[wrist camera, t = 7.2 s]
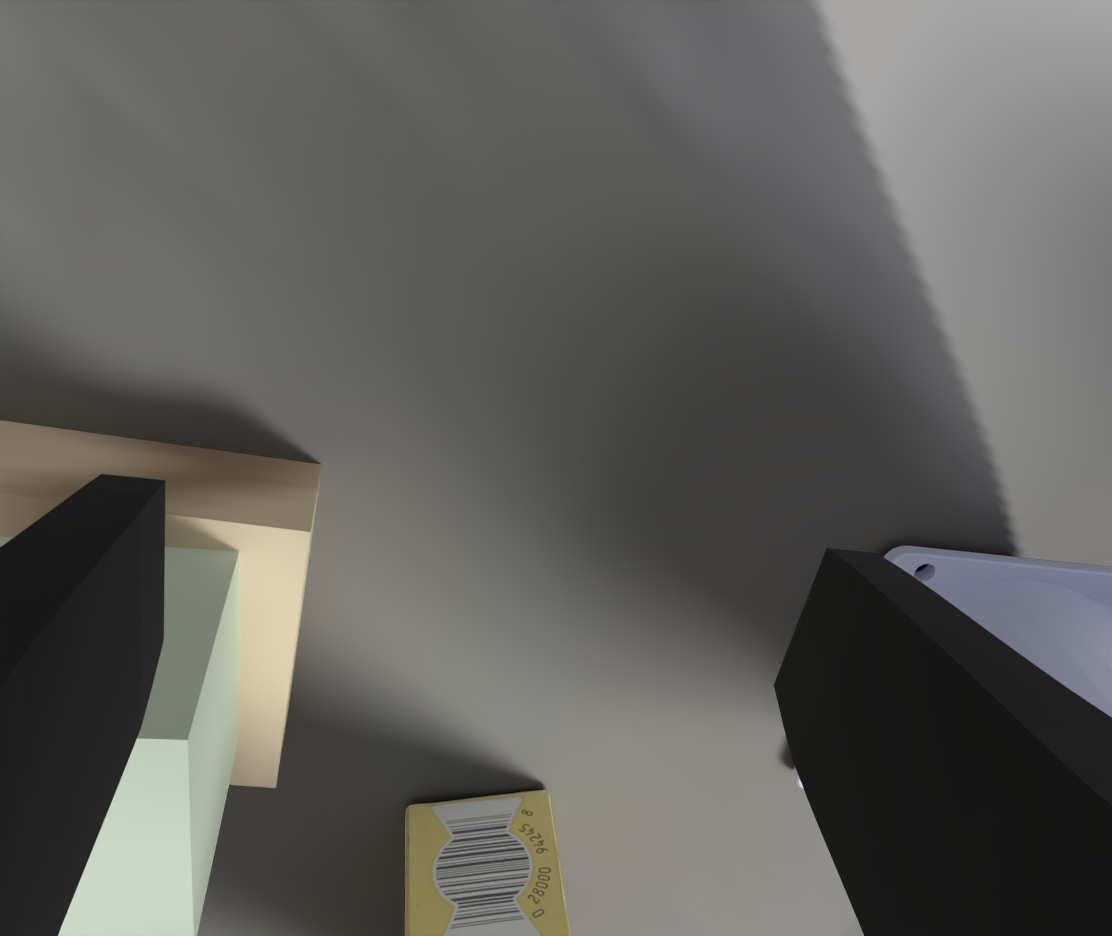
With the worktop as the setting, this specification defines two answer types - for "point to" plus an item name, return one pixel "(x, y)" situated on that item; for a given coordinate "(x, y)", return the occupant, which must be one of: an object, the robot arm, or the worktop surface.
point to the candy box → (484, 868)
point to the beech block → (198, 545)
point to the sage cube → (172, 765)
